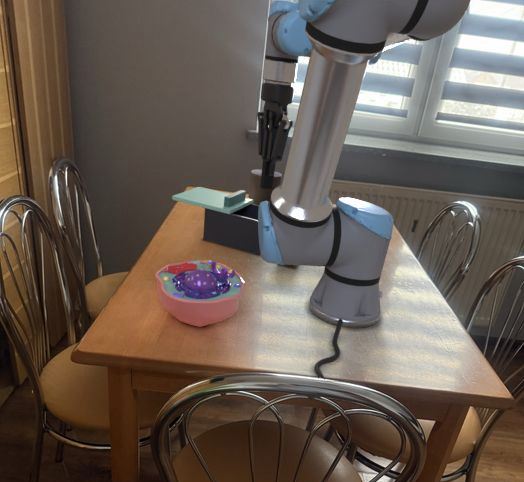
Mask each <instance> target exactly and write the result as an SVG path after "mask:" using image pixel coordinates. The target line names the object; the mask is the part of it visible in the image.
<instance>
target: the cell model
mask: <svg viewBox="0 0 524 482" xmlns="http://www.w3.org/2000/svg"><path fill="white" fill-rule="evenodd" d="M154 275H155V277H154V278H155V284H156V285H155V286H156V293H157V300H158V303H159V305H160V306H161V308H162V309H164V310H165V311H166V312H167V313H169V314H170V315H171V316H173V317H174V318H176V320H179V322H182V323H185V324H187V325H190V326H193V327H197V328H198V327H199V328H202V327H206V326H210V325H213V324H217V323H220V322H222V321H225V320H228V319H229V318H231V317H232V316H234V314H235V313H236V312H237V311H238V310H239V308H240V304H241V298H242V296H243V294H244V292H245V287H246V282H245V280H244V278H243V277H242V275H241V274H240V273H239V272H237V270H234V269H232V268H231V267H229V266H228V265H227V264H224V263H221V262H216V261H212V260H210V259H209V260H207V259H205V260H204V259H202V260H201V259H191V260H184V261H179V262H174V263H169V264H166V265H164V266H163V267H162V268H160V269H158V270H157V271H156V272H155V274H154Z"/></svg>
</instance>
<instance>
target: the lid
mask: <svg viewBox="0 0 524 482" xmlns="http://www.w3.org/2000/svg"><path fill="white" fill-rule="evenodd" d="M246 195H247V190H245V189H239V190H237V191H234V192H233V193H227V192H223V191H220V190H215V189H211V188H206V187H203V186H197V187H193V188H192V189H189V190H185V191H183V192H180V193H176V194H174V195H172V196H171V200H172V201H176V202H179V203H183V204H188V205H191V206H194V207H195V206H196V207H199V208H202V209H203V208H204V209H205V208H207V209H211V210H215V211H219V212H223V213H227V214H231V213H233V212H235V211H237V210H240V209H242V208H244V207H246V206H248V205H250V204H252V203H253V199H248V197H247V196H246Z"/></svg>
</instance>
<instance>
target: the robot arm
mask: <svg viewBox="0 0 524 482" xmlns="http://www.w3.org/2000/svg"><path fill="white" fill-rule="evenodd" d="M297 1H298V2H296V1H291V0H290V1H289V0H273V1H272V2H271V3H270V8H269V13H268V14H269V15H268V17H267V22H268V23H267V33H266V34H267V35H266V42H265V43H266V45H265V53H264V54H265V55H264V61H263V70H262V79H263V82H262V83H261V91H260V100H262V101H263V102H264V105H263V108H262V109H263V110H262V111H257V113H256V116H257V122H258V123H257V124H258V125H257V127H258V129H257V131H258V136H257V137H258V138H257V139H258V140H257V141H258V142H257V143H258V144H257V145H258V146H257V147H258V150H257V151H258V155H259V156H261V160H262V165H261V166H262V167H261V170H262V175H261V184H260V187H261V188H262V189H272V186H273V178H274V173H275V172H276V165H277V163H278V162H282V160H283V157H284V153H285V149H286V146H287V142H288V139H289V134H290V131H291V129H292V127H293V123H294V122H293V120H289V118H288V115H289V110H288V105H292V104H293V102H294V95H295V87H294V85H293V84H295V83H296V79H297V73H298V63H299V57H305V58H309V59H308V64H307V69H306V74H305V78H304V81H303V87H302V91H301V95H300V99H299V105H298V109H297V114H296V119H295V123H294V128H293V131H292V136H291V142H290V145H289V151H288V154H287V160H286V164H285V169H284V174H283V176H282V181H281V185H280V186H278V187H276V188H275V189H274V190H273V192H272V194H271V199H270V202H268V201H263V202H261V203H260V205H259V210H258V235H259V246H260V252H261V253H260V256H261V258H262V260H263V261H264V262H265V263H268V264H274V265H279V264H281V265H280V266H283V265H297V266H304V267H305V266H307V267H324V268H323V269H324V270H323V273H322V276H321V277H320V278H319V281H318V282H317V283H316V286H315V288H314V289H313V291H312V292H311V295H310V297H309V302H308V308H309V311H310V312H311V313H312V314H313V315H314V316H315V317H317V318H318V319H320V321H321V320H322V321H324V322H326V323H328V324H331V325H334V326H336V328H335V331H334V333H333V337H332V343H331V344H332V347H333V350H334V355H332V356H329V357H325V358H322V359H320V360H318V361H317V362H316V363H315V365H314V367H313V368H314V373H315V374H316V377H317V378H318V377H321V378H324V379H325V377H324V374H323V373H322V371H321V369H320V368H321V366H324V365H326V364H328V363H332V362H334V361H336V360H337V359H338V358H340V356H341V350H340V347H339V345H338V338H339V335H340V332H341V329H342V327H343V328H349V329H362V328H368V327H371V326H374V325H376V324H377V323H378V321H379V319H380V315H381V309H382V307H381V299H382V297H383V293H384V292H383V291H380V285H379V284H380V280H381V276H382V272H383V269H384V265H385V262H386V258H387V254H388V249H389V246H390V243H391V240H392V238H393V236H392V234H393V230H394V229H393V228H394V222H395V219H394V217H393V215H392V214H391V213H390V212H389V211H387V210H386V209H385V208H383V207H380V206H378V205H376V204H374V203H371V202H368V201H366V200H365V201H364V200H362V199H357V198H352V197H340V198H339V199H337V202H335V206H333V202H332V201H331V199H330V197H329V194H330V191H331V187H332V184H333V181H334V177H335V174H336V172H337V168H338V165H339V161H340V158H341V154H342V151H343V148H344V146H345V145H344V144H345V141H346V138H347V134H348V131H349V128H350V125H351V122H352V118H353V116H354V112H355V109H356V105H357V102H358V98H359V95H360V91H361V88H362V85H363V82H364V79H365V75H366V72H367V70H368V66H373V65H375V64H377V63H378V62H379V59H380V58H381V57H382V55H383V52H384V51H386V50H389V49H392V48H394V47H396V46H399V45H401V44H404V43H407V42H409V41H411V40H412V41H416V42H427V41H431V40H433V39H436V38H438V37H441V36H443V35H445V34H447V33H448V32H449V31H451V30H453V28H454V27H456V25H457V24H458V23H459V22H460V21H461V20H462V18H463V17H464V15H465V14H466V12H467V11H468V8H469V6H470V3H471V0H297Z"/></svg>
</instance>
